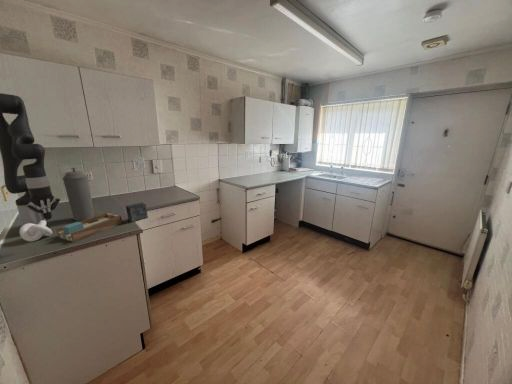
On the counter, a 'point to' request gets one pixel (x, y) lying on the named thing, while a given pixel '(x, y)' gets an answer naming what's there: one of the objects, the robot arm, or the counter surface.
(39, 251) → the counter surface
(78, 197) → the canister
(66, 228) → the block
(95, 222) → the track
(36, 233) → the white knot sculpture
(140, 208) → the small box
